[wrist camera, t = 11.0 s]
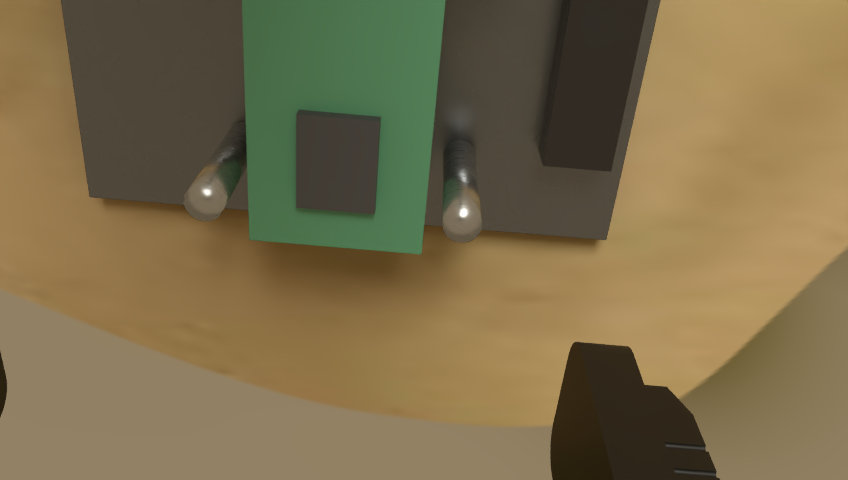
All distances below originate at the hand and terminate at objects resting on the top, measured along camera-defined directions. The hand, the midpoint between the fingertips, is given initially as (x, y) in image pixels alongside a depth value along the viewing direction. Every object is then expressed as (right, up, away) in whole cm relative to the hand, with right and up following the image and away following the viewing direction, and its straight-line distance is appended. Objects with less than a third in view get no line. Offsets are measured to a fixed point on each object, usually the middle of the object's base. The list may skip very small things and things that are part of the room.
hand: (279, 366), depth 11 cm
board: (0, +8, +14) cm, 16 cm away
